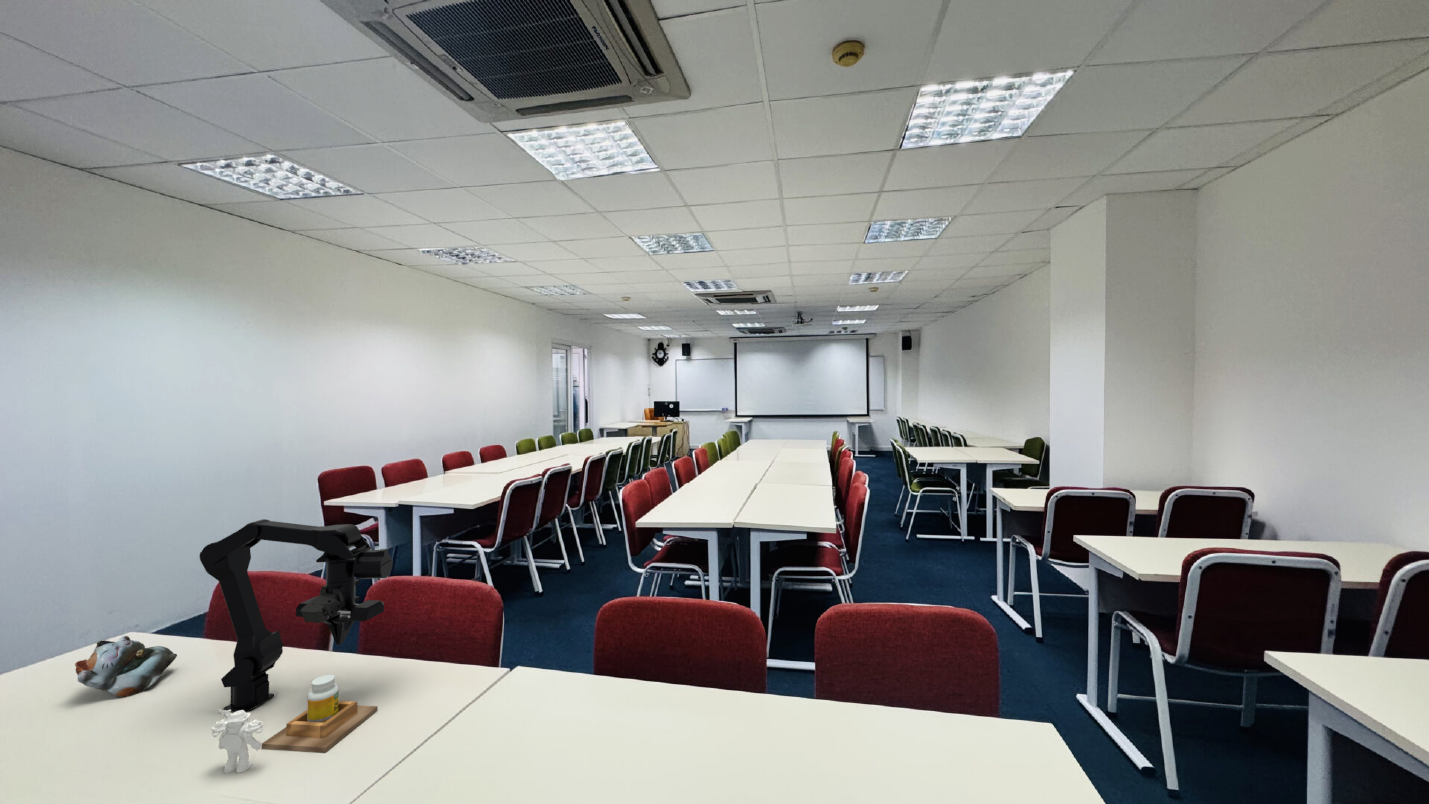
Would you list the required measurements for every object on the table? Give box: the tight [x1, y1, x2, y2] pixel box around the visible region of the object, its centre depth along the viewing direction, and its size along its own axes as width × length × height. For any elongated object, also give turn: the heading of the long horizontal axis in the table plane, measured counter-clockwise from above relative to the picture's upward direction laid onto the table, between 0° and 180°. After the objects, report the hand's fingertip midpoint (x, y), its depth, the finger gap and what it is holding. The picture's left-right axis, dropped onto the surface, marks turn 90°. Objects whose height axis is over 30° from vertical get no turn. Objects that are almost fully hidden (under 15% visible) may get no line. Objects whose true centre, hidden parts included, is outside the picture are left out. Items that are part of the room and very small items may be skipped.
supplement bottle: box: [306, 674, 340, 723], centre depth 109 cm, size 5×5×10 cm
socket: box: [261, 700, 379, 754], centre depth 109 cm, size 14×14×4 cm
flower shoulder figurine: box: [211, 708, 265, 774], centre depth 97 cm, size 9×4×12 cm, turn 89°
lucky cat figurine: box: [74, 635, 178, 698], centre depth 124 cm, size 15×12×14 cm
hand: (339, 644), depth 120 cm, fingers closed
